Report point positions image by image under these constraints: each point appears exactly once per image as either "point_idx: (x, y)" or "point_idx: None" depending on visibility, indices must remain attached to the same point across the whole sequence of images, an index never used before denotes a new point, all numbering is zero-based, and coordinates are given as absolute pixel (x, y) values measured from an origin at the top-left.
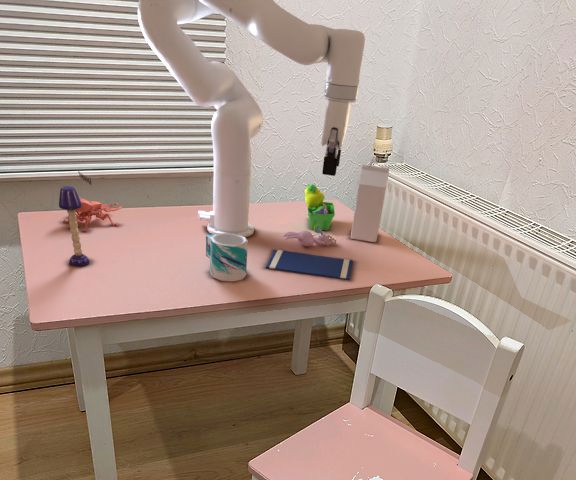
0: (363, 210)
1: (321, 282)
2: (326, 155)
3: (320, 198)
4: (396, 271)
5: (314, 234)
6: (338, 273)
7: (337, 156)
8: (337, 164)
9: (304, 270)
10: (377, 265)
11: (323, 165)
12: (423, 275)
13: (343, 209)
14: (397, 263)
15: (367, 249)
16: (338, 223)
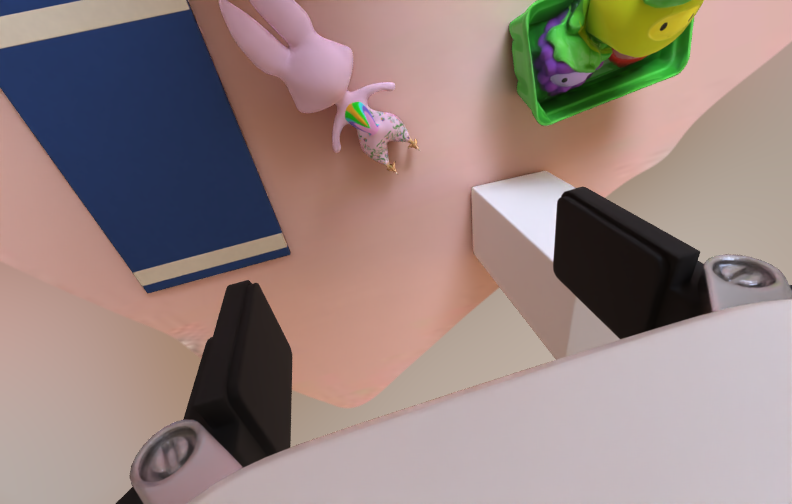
0: (515, 256)
1: (56, 239)
2: (143, 469)
3: (616, 46)
4: (305, 347)
5: (391, 88)
6: (156, 259)
7: (600, 305)
8: (559, 275)
9: (74, 166)
10: (312, 306)
11: (217, 332)
12: (323, 387)
13: (752, 67)
14: (358, 333)
15: (412, 251)
16: None
